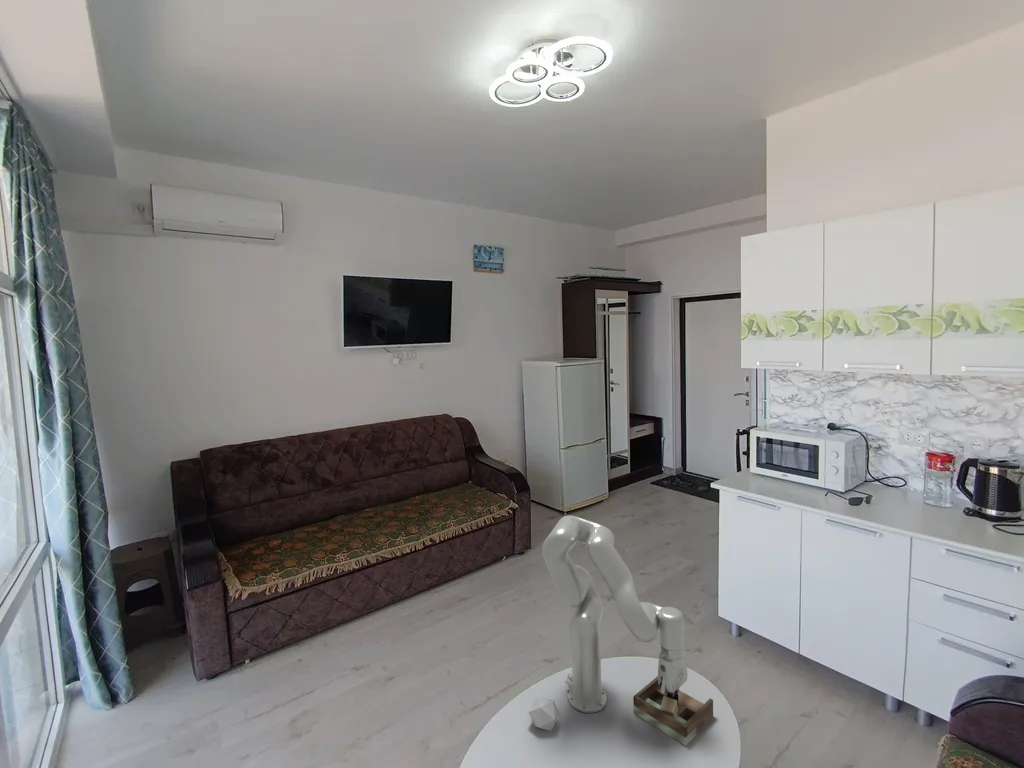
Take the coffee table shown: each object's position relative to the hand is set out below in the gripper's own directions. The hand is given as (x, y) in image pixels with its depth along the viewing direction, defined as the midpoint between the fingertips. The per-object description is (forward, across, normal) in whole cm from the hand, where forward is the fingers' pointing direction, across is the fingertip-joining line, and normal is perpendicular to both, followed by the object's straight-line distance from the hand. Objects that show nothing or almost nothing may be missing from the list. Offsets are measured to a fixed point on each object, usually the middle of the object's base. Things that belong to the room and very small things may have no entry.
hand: (672, 704), depth 154 cm
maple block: (0, -3, -1) cm, 3 cm away
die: (+4, -32, +25) cm, 41 cm away
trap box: (+4, 0, 0) cm, 4 cm away
